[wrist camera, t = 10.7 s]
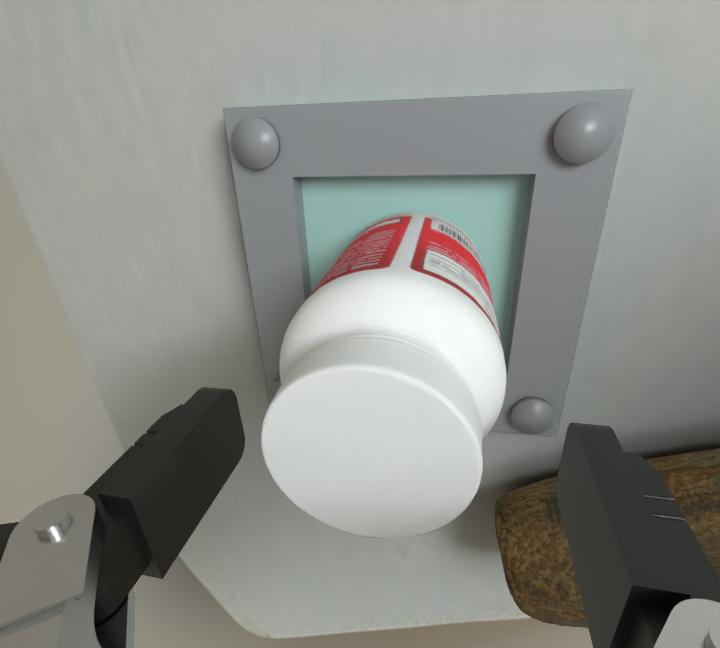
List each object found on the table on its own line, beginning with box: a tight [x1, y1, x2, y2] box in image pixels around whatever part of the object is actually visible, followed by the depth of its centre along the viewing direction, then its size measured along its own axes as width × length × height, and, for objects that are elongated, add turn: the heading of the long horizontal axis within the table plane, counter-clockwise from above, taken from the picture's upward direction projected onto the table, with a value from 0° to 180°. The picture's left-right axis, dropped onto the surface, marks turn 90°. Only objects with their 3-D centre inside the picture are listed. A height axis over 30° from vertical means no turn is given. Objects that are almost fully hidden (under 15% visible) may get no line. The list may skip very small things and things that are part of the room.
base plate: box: [223, 89, 633, 437], centre depth 18 cm, size 14×14×2 cm
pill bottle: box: [261, 211, 506, 538], centre depth 13 cm, size 6×6×11 cm
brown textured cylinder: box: [495, 448, 720, 628], centre depth 18 cm, size 15×7×7 cm, turn 121°
